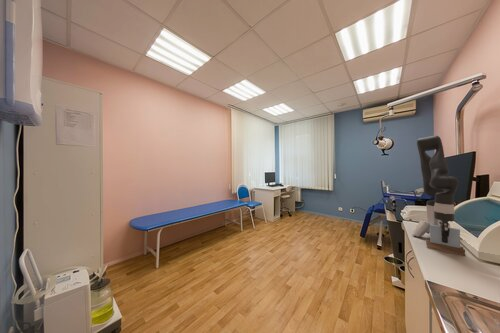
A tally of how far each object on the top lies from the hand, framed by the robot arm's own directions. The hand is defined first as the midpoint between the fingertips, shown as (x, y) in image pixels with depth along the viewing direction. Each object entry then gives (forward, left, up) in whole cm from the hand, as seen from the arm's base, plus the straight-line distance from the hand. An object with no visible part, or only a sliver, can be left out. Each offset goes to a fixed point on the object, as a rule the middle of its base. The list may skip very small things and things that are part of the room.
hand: (444, 241), depth 95 cm
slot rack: (0, 0, -5) cm, 5 cm away
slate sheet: (0, 0, -5) cm, 5 cm away
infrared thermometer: (-23, -1, -6) cm, 24 cm away
